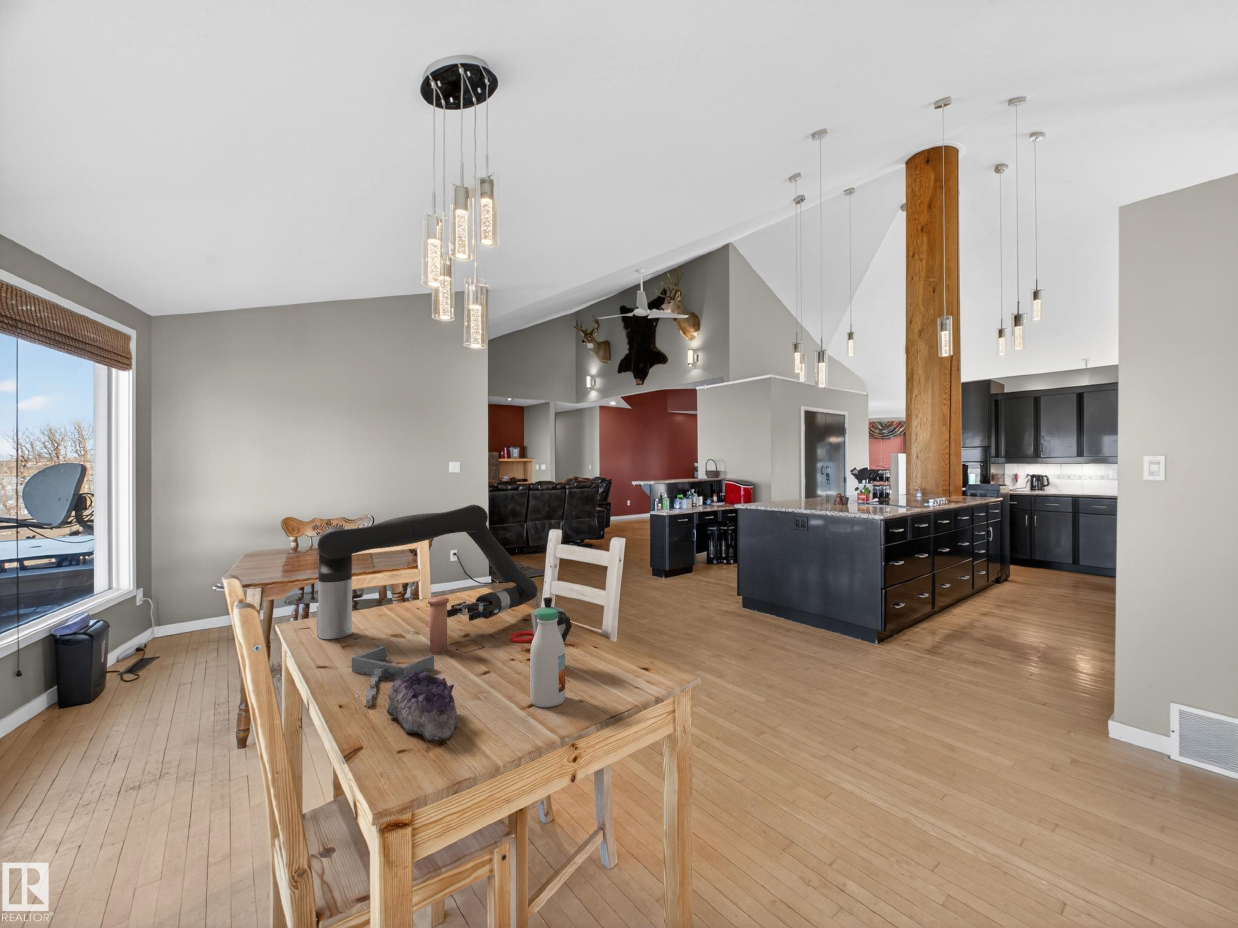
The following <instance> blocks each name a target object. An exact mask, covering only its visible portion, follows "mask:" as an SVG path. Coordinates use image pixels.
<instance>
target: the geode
mask: <svg viewBox="0 0 1238 928" xmlns="http://www.w3.org/2000/svg"><path fill="white" fill-rule="evenodd" d="M454 686H455V684H450V685H448V683H447V679H446V678H445V677H441V678H440V677H438V676H435V675H431V674H430V673H429V672H425V673H423V674H420V673H419V672H417V671H414V672H413V673H411V674H410V675H408V676H407V677H406V678H405V679H404V680H397V681H393V683H392V684H391V686H390V688H389V689H390V690H389V693H388V694H387V697H388V698H387V699H388V700H387V709H386V713H387V715H389V716H390V717H392V718H394V719H396V720H397V721H398V724H399V725H400V726H401V727H402V728H403V731H404V732H405V733H406V734H418V735H421V736H422V737H423V739H424V740H425V741H426V742H427V743H442V742H447V741H449V740H451V738H452V737H454V733H455V731H456V730H457V727H458V718H457V708H456V705H455V704H456V702H455V699H454V696H453V694H452V693H453V688H455V687H454Z"/></svg>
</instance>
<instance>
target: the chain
mask: <svg viewBox="0 0 1238 928" xmlns="http://www.w3.org/2000/svg"><path fill="white" fill-rule="evenodd" d="M379 681H380V680H379V676H376V675H371V676H370V678H369V688H367V690H366V694H365V698H366V699H365V703H366V705H365V708H372V704H373V701H374V700H375V699H376V694H377V687H376V686H377V685H379Z"/></svg>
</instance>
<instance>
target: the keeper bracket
mask: <svg viewBox="0 0 1238 928" xmlns="http://www.w3.org/2000/svg"><path fill="white" fill-rule="evenodd" d="M386 660H387V646H385V645H383V646H380V647H377V648H375V649H372V650H370V651H366V652H364V653H361V654H358V655H355V656H353V657H351V672H352V673H357V674H362V675H366V676H370V677H371V675H376V676H379V681H384V680H388V681H389V680H390V681H393V682H395V681H397V680H404V679H405V678H406V677H407V676H408V675H410V674H411V673H413V672H414V671H417V672H419V673H420V674H423V673H425V672H427V673H429V672H431V671H433V670H435V654H429V655H428V656H426V657H423V658H421V659H419V660H415V661H413V662H412V663H409V664H407V665H404V666H403V665H398V664H393V663H389V662H385V661H386Z"/></svg>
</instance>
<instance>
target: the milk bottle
mask: <svg viewBox="0 0 1238 928" xmlns="http://www.w3.org/2000/svg"><path fill="white" fill-rule="evenodd" d="M537 621H538V628H537V631H536V634H535V636H534V635H533V636H534V638H533V641H531V645H530V653H529V657H530V658H529V660H530V661H529V671H530V673H529V677H530V678H529V683H530V684H529V687H530V688H529V691H530V694H529V695H530V697H529V698H530V699H529V700H530V703H531V704H532V705H533V706H535V707H538V708H553V707H556V706H559V705H562V704H563V703H564V701H565V699H566V648H565V642H563V639H562V637H561V634H560V632H559V630H558V626H557V621H558V611H557V610H556V609H541V610H539V611H538V612H537Z"/></svg>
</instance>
